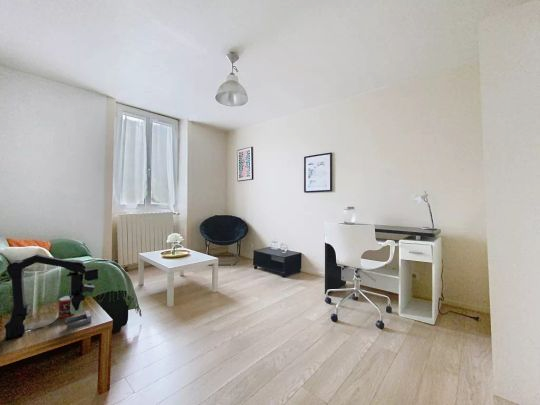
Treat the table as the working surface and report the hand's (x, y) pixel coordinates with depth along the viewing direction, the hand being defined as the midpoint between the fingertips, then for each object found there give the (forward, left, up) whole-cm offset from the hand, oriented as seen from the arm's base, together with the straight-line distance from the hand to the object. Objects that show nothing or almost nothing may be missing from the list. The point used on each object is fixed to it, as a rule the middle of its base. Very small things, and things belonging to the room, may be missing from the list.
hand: (76, 308), depth 140 cm
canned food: (-3, +16, -9) cm, 18 cm away
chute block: (0, 0, -2) cm, 2 cm away
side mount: (0, 0, -9) cm, 9 cm away
